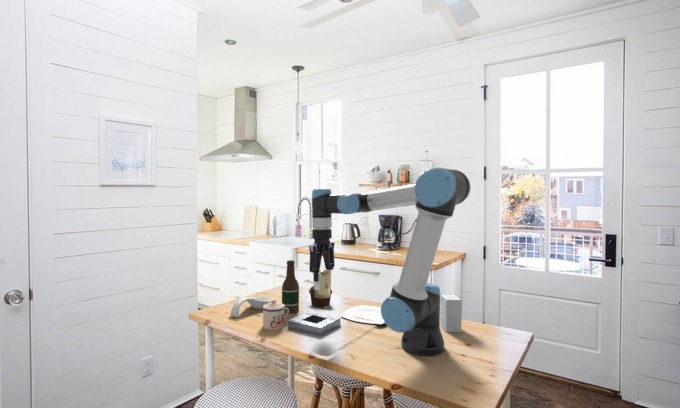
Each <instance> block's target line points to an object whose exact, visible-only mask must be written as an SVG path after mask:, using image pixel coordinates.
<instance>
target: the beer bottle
mask: <svg viewBox="0 0 680 408" xmlns="http://www.w3.org/2000/svg"><path fill="white" fill-rule="evenodd" d="M295 263H296V262H295V260H289V259H288V260H287V261H286V273H285V274H286V276H285V278H284V281H283V282H282V285H281V303H282V304H284V305H285V307H286V308H288V309H289V314H288V315H290V314H296V313H298V312H299V310H300V284H299V282H298V280H297V278H296V273H295ZM285 315H286V309H285Z"/></svg>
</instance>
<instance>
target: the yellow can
mask: <svg viewBox="0 0 680 408" xmlns="http://www.w3.org/2000/svg"><path fill="white" fill-rule="evenodd" d="M319 273H321V290H315V297H316V298H329V297H330V289H331V286H330V273H329V272H325V271H324V270H320V271H319Z"/></svg>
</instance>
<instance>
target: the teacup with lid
mask: <svg viewBox="0 0 680 408" xmlns="http://www.w3.org/2000/svg"><path fill="white" fill-rule="evenodd" d="M285 309H286V314H285ZM261 310H262V327H263V328H264V329H265V330H270V331H271V330H279V329H283V328H284V327H285V320H286V319H288V316H289V315H290V314H289V309H288V308H286V307H285V305H284V304H282V302H279V301H277V299H276V298H275V299H274V298H272V300H271V302H269V303H268V304H265V305H264V306H263V308H262V309H261Z"/></svg>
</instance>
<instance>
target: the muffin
mask: <svg viewBox="0 0 680 408" xmlns="http://www.w3.org/2000/svg"><path fill="white" fill-rule="evenodd" d="M308 293H309V295H310V300H311V301H310V302H311V306H312V307H314V308H327V307H329V306H330V304H331V297H332V294H333V290H332V289H331V288H330V297H329V298H316V297H315V289H314V285H313V286H311V287H310V288H309V290H308Z"/></svg>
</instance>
